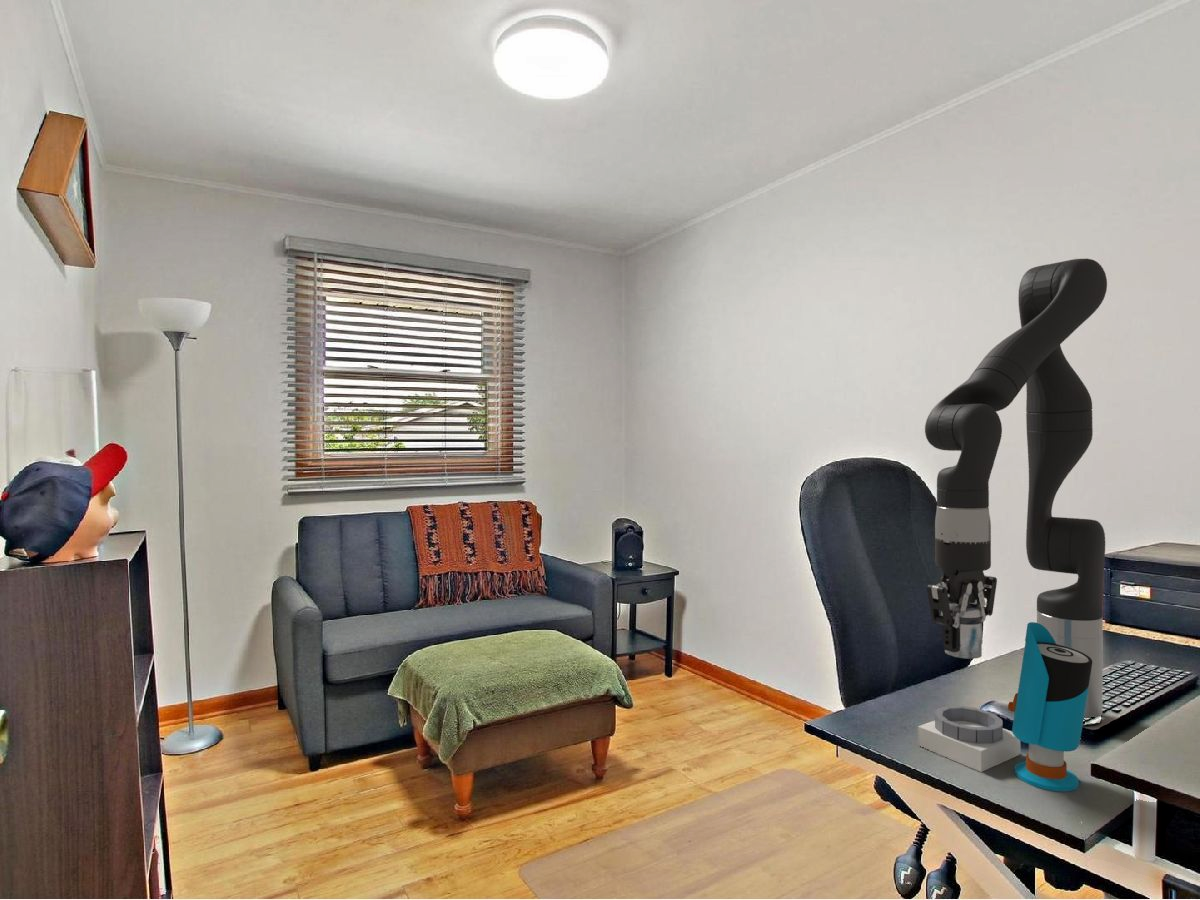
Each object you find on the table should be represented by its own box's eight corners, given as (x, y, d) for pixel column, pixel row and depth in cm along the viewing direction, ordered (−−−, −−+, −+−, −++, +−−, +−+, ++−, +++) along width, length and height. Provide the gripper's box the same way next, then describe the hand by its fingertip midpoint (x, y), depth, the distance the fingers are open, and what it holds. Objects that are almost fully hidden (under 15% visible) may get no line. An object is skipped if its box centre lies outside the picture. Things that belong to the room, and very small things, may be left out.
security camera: (1089, 640, 92) (1001, 627, 98) (1088, 802, 93) (1001, 779, 99) (1095, 625, 98) (1012, 614, 105) (1095, 777, 99) (1013, 757, 105)
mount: (957, 730, 115) (957, 699, 115) (1020, 754, 106) (1020, 721, 106) (918, 745, 110) (917, 713, 110) (981, 771, 101) (981, 737, 101)
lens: (957, 646, 112) (957, 600, 112) (989, 655, 107) (989, 607, 107) (937, 651, 109) (937, 605, 109) (968, 660, 105) (968, 612, 105)
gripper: (968, 529, 115) (968, 634, 115) (909, 537, 108) (910, 649, 108) (1015, 535, 108) (1015, 646, 109) (956, 544, 101) (956, 663, 102)
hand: (962, 647), depth 108 cm, fingers closed on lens, 5 cm apart
